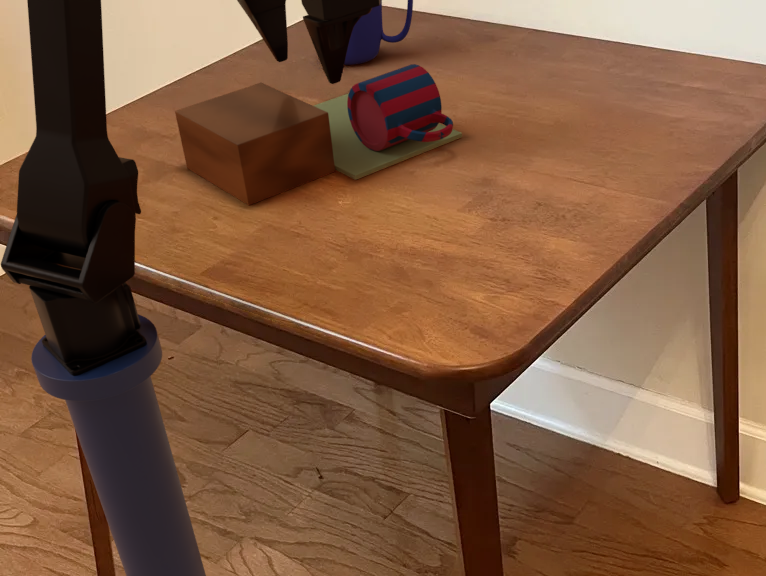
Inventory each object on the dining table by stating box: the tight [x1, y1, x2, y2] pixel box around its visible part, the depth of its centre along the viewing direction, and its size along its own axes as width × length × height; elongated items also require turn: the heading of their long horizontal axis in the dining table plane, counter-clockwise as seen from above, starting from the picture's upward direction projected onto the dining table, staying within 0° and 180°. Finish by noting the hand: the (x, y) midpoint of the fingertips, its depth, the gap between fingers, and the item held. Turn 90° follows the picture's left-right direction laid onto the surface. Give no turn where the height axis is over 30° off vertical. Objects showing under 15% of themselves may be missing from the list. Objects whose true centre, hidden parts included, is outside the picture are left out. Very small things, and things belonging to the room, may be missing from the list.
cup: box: [347, 63, 454, 151], centre depth 101 cm, size 7×10×7 cm
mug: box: [344, 0, 414, 66], centre depth 123 cm, size 8×12×10 cm
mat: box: [313, 92, 463, 180], centre depth 107 cm, size 14×18×1 cm
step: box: [174, 82, 336, 206], centre depth 100 cm, size 10×12×6 cm
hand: (308, 71), depth 100 cm, fingers open, 9 cm apart
